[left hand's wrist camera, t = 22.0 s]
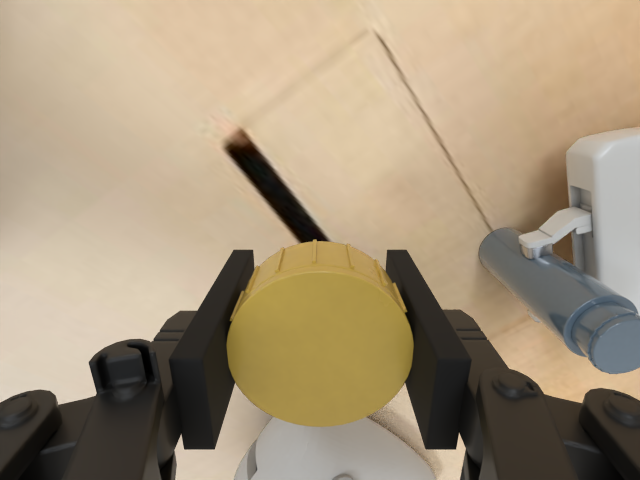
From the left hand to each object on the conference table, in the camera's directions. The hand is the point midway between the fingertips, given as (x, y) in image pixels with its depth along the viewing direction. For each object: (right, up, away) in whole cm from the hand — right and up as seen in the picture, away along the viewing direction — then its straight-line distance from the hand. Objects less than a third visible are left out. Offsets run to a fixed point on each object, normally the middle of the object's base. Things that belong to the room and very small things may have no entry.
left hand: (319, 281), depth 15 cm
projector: (+3, -24, +30) cm, 39 cm away
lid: (0, -2, -4) cm, 4 cm away
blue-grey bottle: (+18, +1, +21) cm, 28 cm away
